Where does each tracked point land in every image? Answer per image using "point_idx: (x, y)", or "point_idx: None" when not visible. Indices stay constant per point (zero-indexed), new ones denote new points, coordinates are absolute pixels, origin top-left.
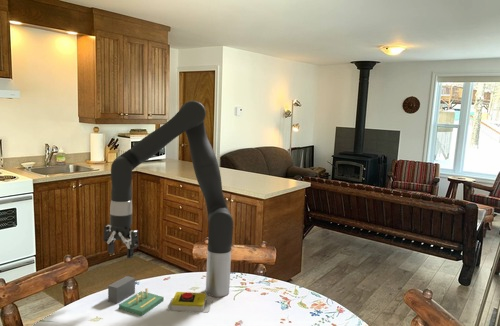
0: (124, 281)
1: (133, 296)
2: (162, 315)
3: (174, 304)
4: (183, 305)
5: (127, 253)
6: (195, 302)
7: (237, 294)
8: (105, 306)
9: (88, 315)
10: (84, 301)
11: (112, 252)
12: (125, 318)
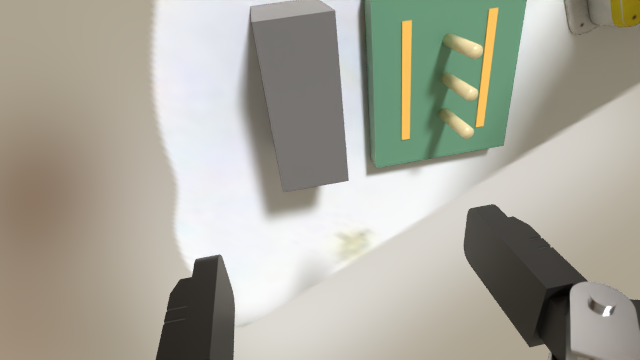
0: (315, 98)
1: (377, 73)
2: (569, 83)
3: (635, 22)
4: None
5: (500, 296)
6: None
7: None
8: None
9: (310, 250)
10: (191, 209)
11: (227, 281)
12: (443, 185)
